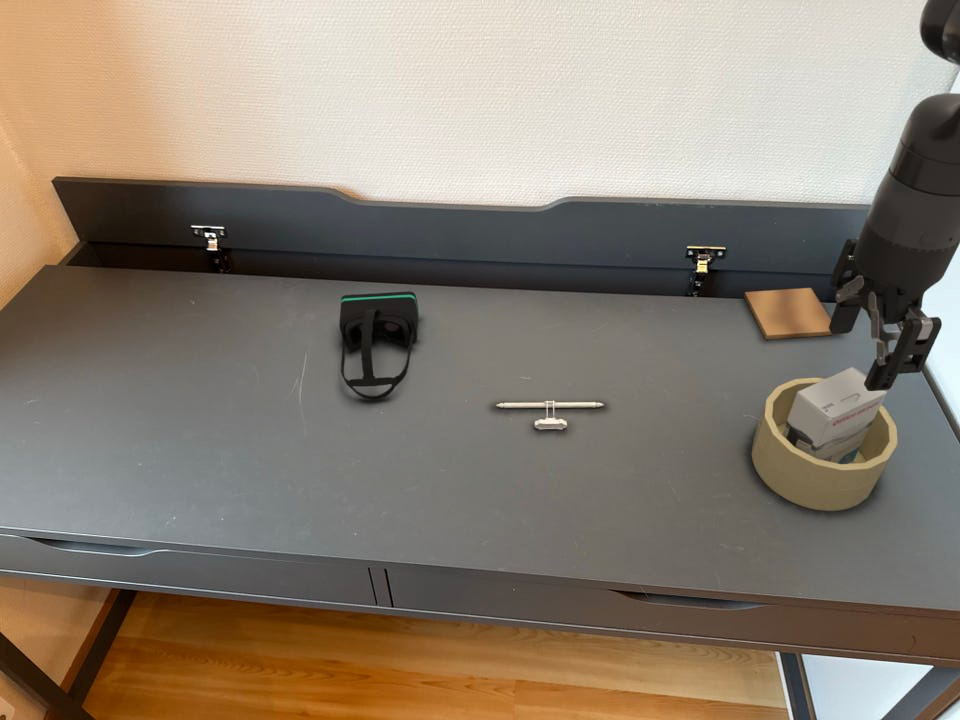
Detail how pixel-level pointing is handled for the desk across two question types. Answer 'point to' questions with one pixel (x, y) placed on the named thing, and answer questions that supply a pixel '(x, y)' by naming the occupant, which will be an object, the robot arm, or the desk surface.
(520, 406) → the picture light
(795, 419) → the ink box
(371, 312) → the virtual reality headset
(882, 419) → the pot
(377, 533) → the desk surface
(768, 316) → the plate
